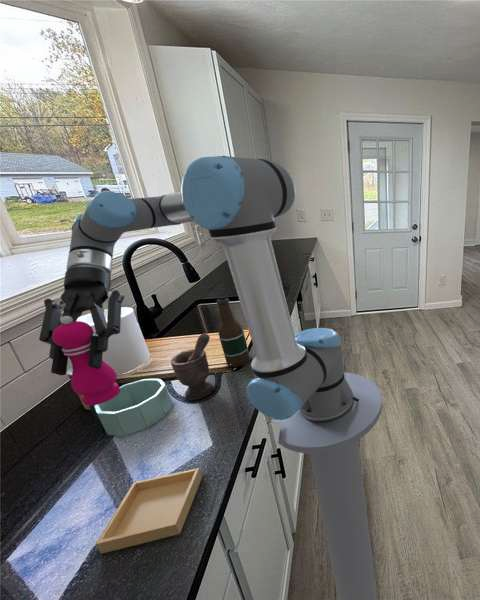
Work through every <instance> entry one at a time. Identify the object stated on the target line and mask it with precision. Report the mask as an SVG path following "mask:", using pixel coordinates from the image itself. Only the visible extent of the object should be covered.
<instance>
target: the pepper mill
mask: <svg viewBox="0 0 480 600" xmlns="http://www.w3.org/2000/svg"><path fill="white" fill-rule="evenodd" d="M61 317H62V316H61ZM61 317H60V322H61V323H62V325H60V326H58V327H57V328H56V329H55V330H54V331H53V333H52V339H53V341H54V343H55V344H56V345H58V346H61V347H63V348H62V351H63V352H64V355H66V356H68V359H69V360H70V363H71V365H72V367H73V372H72V379H71V380H70V383H71V388H72V390H73V392H74V393H76V394H77V393H78V394H82V396H81V399H82V401H83V403H84V404H85V405H88V406H92V405H98V404H101V403H104V402H106V401H109V400H111V399H112V398H114V397H115V396H117V395H118V394H119V393H120V388H119V387H120V385H119V384H118V382H116V380H117V379H116V378H117V374H116V372H115V370H114V369H113V368H112V367H111V366H110V365H108V364H107V363H106V362H104V361H103V360H102V366H101V368H100V369H96V368H93V367H90V366H88V363H89V354H90V345H91V336H93V334H94V332H93V329H92V327H91V326H90V325H89V324H87V323H85V322H81V321H73V319H72V317H70V316H64V317H62V318H61ZM72 367H71V368H72ZM78 394H77V395H78Z"/></svg>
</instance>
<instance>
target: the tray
mask: <svg viewBox="0 0 480 600" xmlns="http://www.w3.org/2000/svg"><path fill="white" fill-rule="evenodd" d="M202 479H203V474H202V472H201V469H200V467H197V468H192V469H188V470H182V471H178V472H174V473H173V472H172V473H169V474H165V475H160V476H154V477H150V478H146V479H141V480H138V481H137V480H136V481H133V482H132V484H131V486H130V488H128V491H127V492H126V494H125V496H124V497H123V499H122V501H121V502H120V504H119V505H118V507H117V508H116V510H115V511H114V514H113V515H112V517H111V518H110V519H109V522H108V523H107V524H106V526H105V528H104V530H103V531H102V532H101V534H100V536H99V538H98V540H97V542H96V543H95V546H96V547H97V549H98V551H99V552H100V554H102V555H103V554H106V553H111V552H115V551H118V550H123V549H126V548H130V547H133V546H134V547H135V546H138V545H142V544H146V543H150V542H155V541H158V540H162V539H166V538H169V537H173V536H178V535H180V534H181V532H182V531H183V527H184V525H185V522H186V519H187V517H188V514H189V512H190V510H191V506H192V504H193V502H194V499H195V496H196V494H197V491H198V489H199V488H200V484H201V482H202Z"/></svg>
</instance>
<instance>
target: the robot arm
mask: <svg viewBox="0 0 480 600" xmlns="http://www.w3.org/2000/svg"><path fill="white" fill-rule="evenodd" d="M296 195H297V188H296V184H295V181H294V179H293V177H292V176H291V174H290V172H289V171H288V170H287V169H286V168H285V167H283V166H282V165H281V164H280V163H277V162H276V161H273V160H270V159H266V158H251V157H238V156H228V155H217V156H216V155H215V156H202V157H199V158H197V159H195V160H193V161H192V162H191V163H190V164H189V165H188V166H187V168H186V169H185V174H183V176H182V179H181V190H180V191H175V192H173V193H167V194H162V195H158V196H149V197H132V198H130V197H128V196H126V195H125V194H123V193H121V192H120V193H118V192H116V191H114V190H113V191H112V190H104V191H99V192H98V193H96V194H95V195H94V197H93V198H92V199H91V200H90V201H89V202H88V203H87V205H86V209H84V212H83V213H82V214H78V215H76V217H75V218H74V221H73V223H72V225H71V237H70V245H69V252H68V254H67V255H68V256H67V262H66V271H65V273H64V280H63V287H64V288H63V289H64V291H63V292H62V293H61V295H60V297H58V298H55V299H51V298H46V299H44V300H43V303H44V307H45V310H44V315H43V320H42V324H41V328H40V333H39V337H38V340H39V341H40V342H43V343H45V344H48V345H50V349H49V353H48V357H49V359H51V360H52V363H51V369H50V373H51V374H54V375H58V376H66V375H67V371H68V370H67V368H68V362H69V357H68V356H66V355H64V352H63V351H62V348H63V347H61V346H58V345H56V344H55V343H54V341H53V339H52V333H53V331H54V330H55V329H56V328H57V327H58V326H60V325H62V323H61V322H60V319H61V318H62V317H64V316H70V317H72V319H73V321H77V319H78V318H79V317H81V316H82V314H83V312H86V311H89V312H90V313H91V315H92V319H93V323H94V326H95V330H96V333H95V332H94V333H95V334H97V335H98V336H91V345H90V354H89V363H88V366H90V367H93V368H96V369H100V368H101V366H102V355H103V352H105V351H107V349H108V339H109V337H110V336H111V335H113V334H119V333H120V323H121V307H122V303H123V302H124V299H125V298H126V297H125V296H126V295H124V294H123V293H122V292H120V291H119V290H117V289H115V290H113V291H110V289H111V282H112V281H111V279H112V276H111V275H112V271H113V270H112V269H113V259H114V257H113V256H114V248H115V245H116V243H118V240H119V239H120V238H121V237H122V235H123V234H125V233H128V232H135V231H136V232H137V231H141V230H149V229H154V228H161V227H162V228H163V227H169V226H180V225H181V224H186V223H192V222H194V223H195V224H196V225H198V226H199V227H201V228H203V229H206V230H208V232H209V236H210V239H211V240H212V241H214V242H216V243H218V244H220V245H221V246H222V247H223V250H224V254H225V257H226V260H227V263H228V267H229V270H230V274H231V277H232V281H233V284H234V286H235V290H236V293H237V297H238V300H239V303H240V307H241V310H242V313H243V316H244V320H245V323H246V326H247V329H248V333H249V336H250V340H251V342H252V346H253V349H254V353H255V356H254V358H253V359H252V361H251V363H250V367H251V370H252V372H253V376H254V378H253V379H251V380H249V383H248V384H247V386H246V389H245V390H246V391H245V392H246V396H247V399H248V400H249V402H250V404H251V405H252V406H253V407H254V408H255V409H256V410H257V411H258V412H259V413H261V414H262V415H264V416H266V417H268V418H269V417H270V418H273V419H277V420H284V419H288V418H290V417H292V416H293V415H294V414H295V413H296V412H297V411H298V410H300V413H301V415H302V417H303V418H304V419H306V420H308V421H310V422H315V423H325V422H330V421H334V420H336V419H338V418H340V417H342V416H344V415H345V414H346V413H348V412H349V410H350V409H351V408H352V406H353V403H354V401H357V402H359V399H358V398H355V397H354V396H353V392H352V389H351V388H350V386H349V384H348V382H347V380H346V379H345V376H344V372H345V369H344V362H343V353H342V343H341V340H340V339H341V338H340V335H339V333H338V332H337V331H335V330H334V329H332V328H328V327H327V328H326V327H313V328H307V329H304V330H301V331H298V332H297V333H296V334H295V331H294V326H293V323H292V319H291V314H290V312H289V311H290V310H289V307H288V303H287V299H286V294H285V291H284V286H283V283H282V279H281V274H280V271H279V267H278V262H277V259H276V255H275V251H274V246H273V243H272V237H273V235H274V233H275V232H276V230H277V226H276V221H275V219H276V218H277V217H281V216H283V215H284V214H286V213H288V211H290V210H291V208H292V206H293V205H294V203H295V201H296ZM107 300H108V302H107V309H108V317H107V322H106V319H105V315H104V310H105V307H104V303H105V302H106V301H107ZM64 304H65V305H64ZM63 305H64V306H63ZM62 311H63V313H62Z"/></svg>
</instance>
